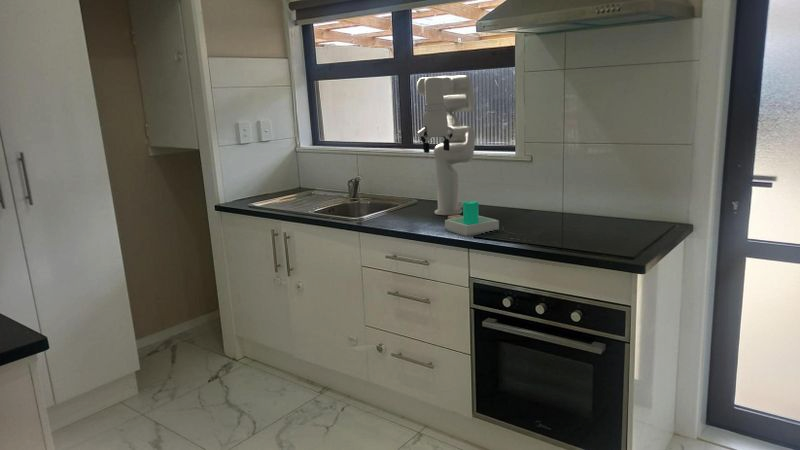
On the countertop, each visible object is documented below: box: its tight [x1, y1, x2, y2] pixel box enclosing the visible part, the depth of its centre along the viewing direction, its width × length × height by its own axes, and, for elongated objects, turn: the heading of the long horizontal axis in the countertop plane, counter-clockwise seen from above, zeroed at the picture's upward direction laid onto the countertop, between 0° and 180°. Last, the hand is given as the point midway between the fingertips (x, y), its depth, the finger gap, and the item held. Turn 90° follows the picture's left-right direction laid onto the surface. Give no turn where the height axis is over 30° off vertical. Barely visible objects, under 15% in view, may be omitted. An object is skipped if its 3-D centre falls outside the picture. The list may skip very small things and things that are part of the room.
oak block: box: [447, 214, 463, 220], centre depth 239 cm, size 5×5×4 cm
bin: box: [444, 215, 500, 237], centre depth 229 cm, size 15×15×4 cm
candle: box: [462, 197, 480, 225], centre depth 228 cm, size 6×6×12 cm
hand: (436, 151), depth 238 cm, fingers open, 9 cm apart
